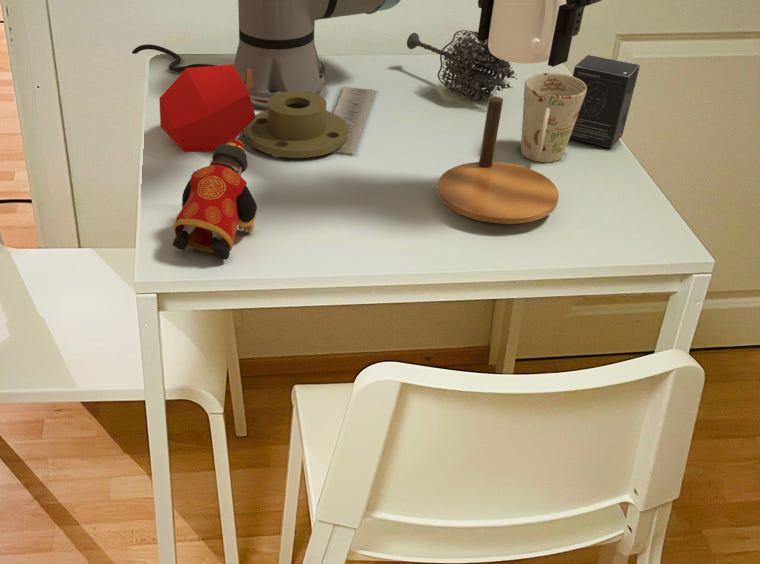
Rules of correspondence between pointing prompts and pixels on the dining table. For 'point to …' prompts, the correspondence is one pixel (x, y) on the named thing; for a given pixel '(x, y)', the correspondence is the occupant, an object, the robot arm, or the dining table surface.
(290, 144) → the flange
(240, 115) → the red faceted polyhedron
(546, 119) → the mug
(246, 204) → the figurine
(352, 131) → the nameplate
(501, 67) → the massage brush
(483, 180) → the wooden disc with post
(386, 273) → the dining table surface
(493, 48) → the cup
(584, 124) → the box
